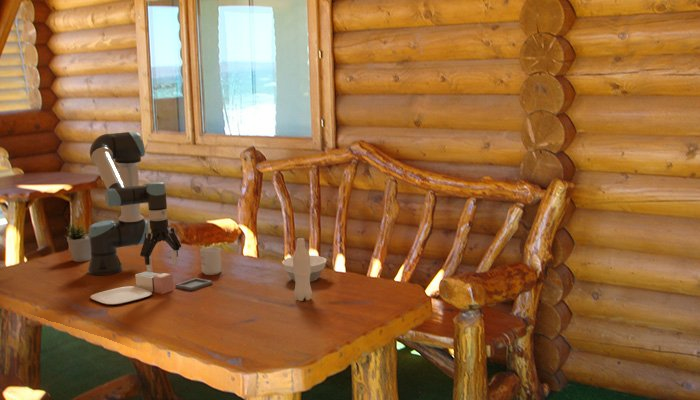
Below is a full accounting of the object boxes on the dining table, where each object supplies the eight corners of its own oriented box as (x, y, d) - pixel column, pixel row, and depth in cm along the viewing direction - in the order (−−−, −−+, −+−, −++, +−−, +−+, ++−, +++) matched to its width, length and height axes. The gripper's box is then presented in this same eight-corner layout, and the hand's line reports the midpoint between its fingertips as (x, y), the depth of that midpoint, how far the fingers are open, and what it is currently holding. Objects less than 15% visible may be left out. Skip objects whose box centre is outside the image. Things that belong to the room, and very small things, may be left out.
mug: (225, 272, 375) (223, 249, 373) (208, 276, 369) (206, 252, 367) (211, 268, 384) (210, 244, 382) (195, 271, 378) (193, 248, 377)
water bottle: (314, 297, 332) (312, 237, 327) (308, 302, 325) (305, 241, 321) (298, 296, 334) (295, 236, 330) (291, 301, 327) (288, 240, 323)
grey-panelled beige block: (136, 287, 355) (135, 274, 353) (147, 284, 359) (146, 271, 358) (153, 291, 348) (152, 277, 347) (164, 288, 353) (163, 274, 352)
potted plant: (74, 256, 416) (70, 218, 412) (99, 256, 414) (96, 218, 410) (62, 263, 403) (58, 223, 400) (88, 263, 402) (84, 223, 398)
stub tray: (175, 287, 353) (175, 284, 352) (196, 281, 362) (196, 277, 362) (191, 291, 347) (191, 287, 347) (212, 284, 356) (212, 280, 356)
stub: (154, 292, 347) (153, 275, 346) (165, 288, 352) (164, 272, 351) (162, 293, 344) (161, 277, 343) (173, 290, 349) (172, 274, 348)
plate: (131, 288, 356) (131, 284, 356) (158, 297, 341) (158, 293, 341) (84, 299, 341) (84, 295, 341) (110, 309, 326) (110, 305, 326)
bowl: (301, 288, 346) (300, 269, 345) (274, 279, 361) (273, 261, 359) (336, 278, 359) (335, 260, 357) (308, 270, 373) (307, 253, 372)
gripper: (140, 225, 331) (144, 276, 334) (187, 214, 350) (190, 263, 354) (128, 223, 335) (133, 274, 339) (175, 213, 355) (179, 261, 358)
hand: (162, 268), depth 346 cm, fingers open, 13 cm apart
